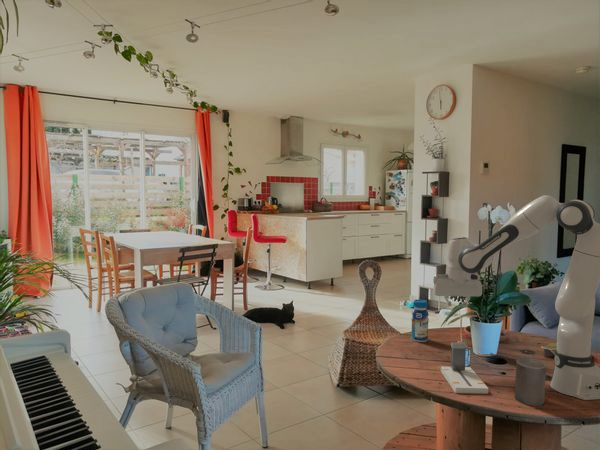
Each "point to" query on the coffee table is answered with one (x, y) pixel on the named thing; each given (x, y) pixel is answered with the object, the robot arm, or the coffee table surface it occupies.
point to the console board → (464, 380)
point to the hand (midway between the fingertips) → (457, 306)
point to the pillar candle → (530, 381)
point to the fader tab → (458, 355)
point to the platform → (549, 349)
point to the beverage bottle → (420, 321)
